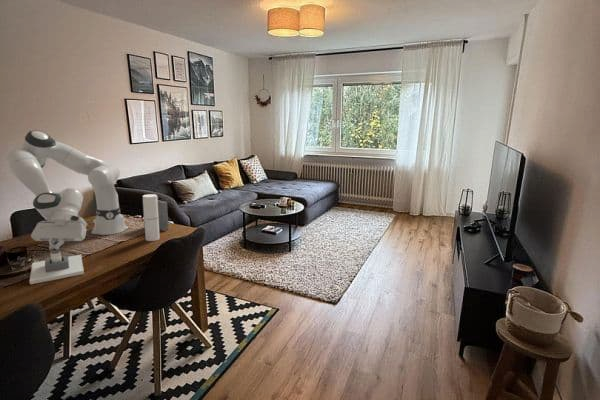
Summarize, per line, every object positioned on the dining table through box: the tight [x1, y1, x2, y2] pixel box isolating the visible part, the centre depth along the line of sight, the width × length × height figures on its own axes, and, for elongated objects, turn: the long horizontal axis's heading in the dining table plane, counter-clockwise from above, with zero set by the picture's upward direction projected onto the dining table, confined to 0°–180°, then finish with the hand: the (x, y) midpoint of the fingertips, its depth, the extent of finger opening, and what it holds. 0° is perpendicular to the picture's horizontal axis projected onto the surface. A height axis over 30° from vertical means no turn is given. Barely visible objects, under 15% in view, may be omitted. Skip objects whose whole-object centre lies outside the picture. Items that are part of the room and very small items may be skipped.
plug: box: [49, 248, 62, 263], centre depth 140 cm, size 4×4×8 cm
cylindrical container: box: [142, 193, 160, 242], centre depth 179 cm, size 7×7×25 cm
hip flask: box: [142, 196, 169, 232], centre depth 197 cm, size 16×4×20 cm, turn 77°
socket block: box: [29, 254, 85, 285], centre depth 141 cm, size 20×18×4 cm
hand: (53, 249), depth 139 cm, fingers closed, pressing on plug
